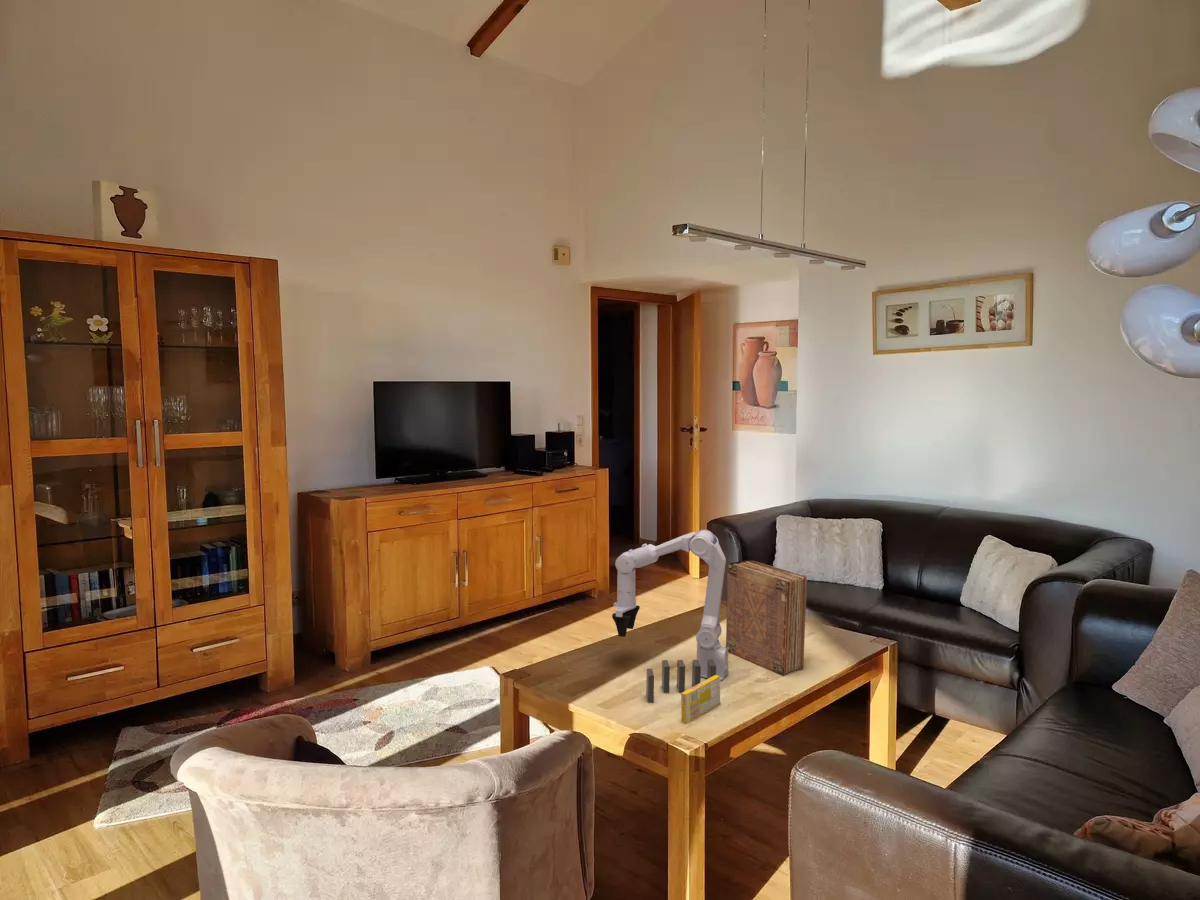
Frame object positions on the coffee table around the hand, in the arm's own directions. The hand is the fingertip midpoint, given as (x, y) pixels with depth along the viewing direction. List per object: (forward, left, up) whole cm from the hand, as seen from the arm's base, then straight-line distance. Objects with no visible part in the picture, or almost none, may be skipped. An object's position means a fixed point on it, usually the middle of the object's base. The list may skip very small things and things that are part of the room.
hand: (626, 632), depth 249 cm
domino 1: (-16, +22, -10) cm, 29 cm away
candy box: (-31, +25, -10) cm, 41 cm away
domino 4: (-26, +11, -10) cm, 30 cm away
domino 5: (-30, +9, -10) cm, 33 cm away
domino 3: (-22, +12, -10) cm, 27 cm away
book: (-40, -20, -10) cm, 46 cm away
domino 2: (-18, +14, -10) cm, 25 cm away
